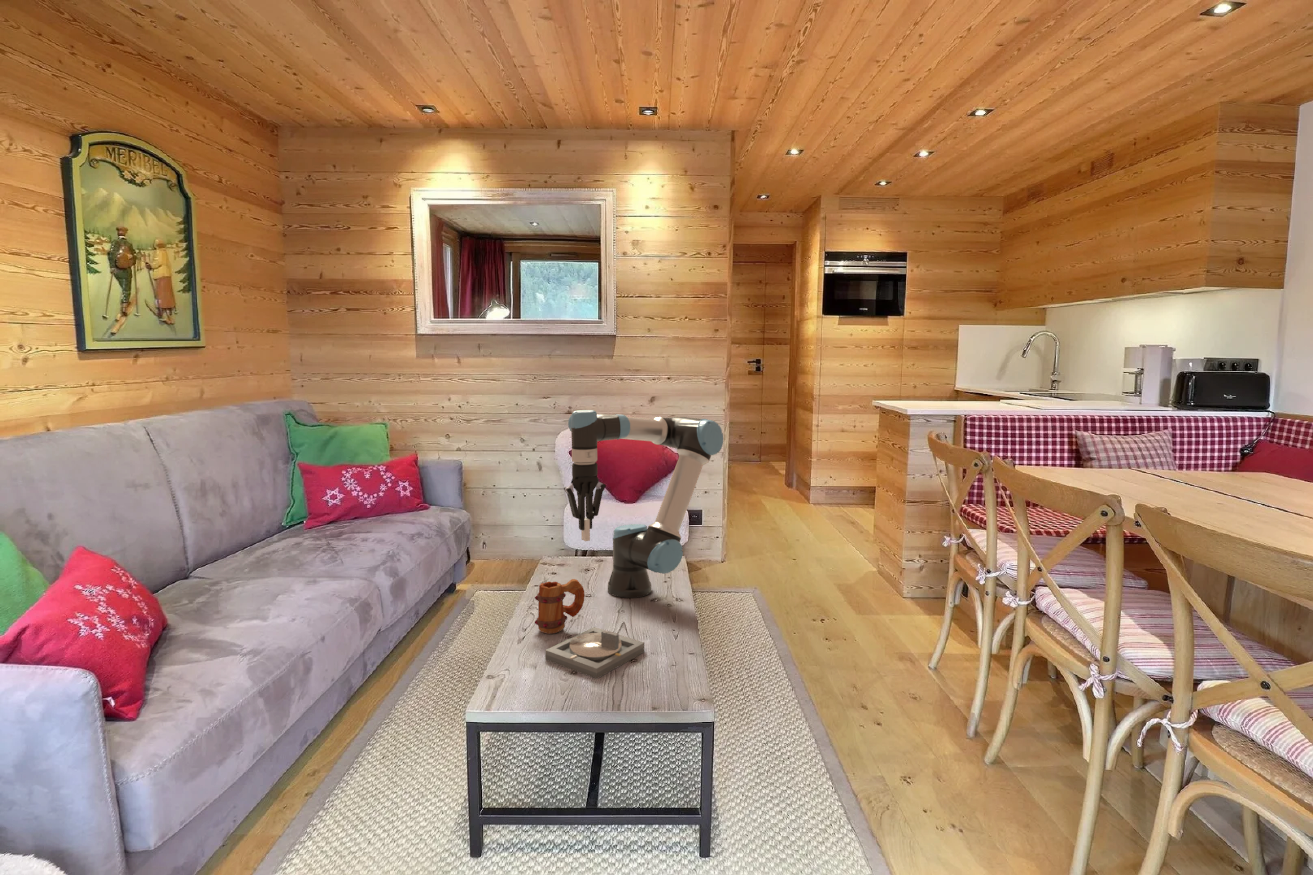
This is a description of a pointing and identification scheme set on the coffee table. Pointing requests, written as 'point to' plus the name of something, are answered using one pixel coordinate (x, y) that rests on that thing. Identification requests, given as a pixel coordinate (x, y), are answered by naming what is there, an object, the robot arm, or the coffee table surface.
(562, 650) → the board
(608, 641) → the dial
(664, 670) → the coffee table surface
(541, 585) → the mug
